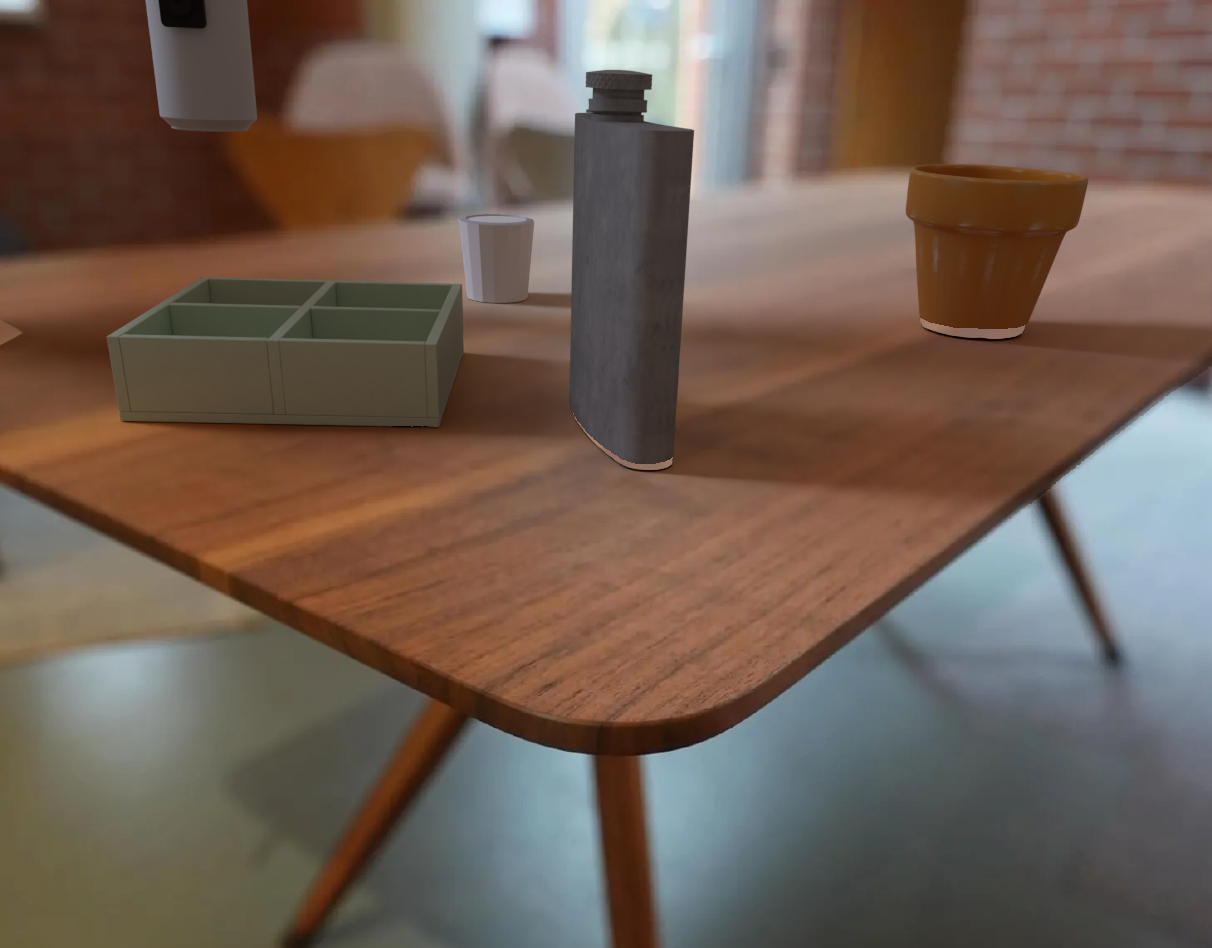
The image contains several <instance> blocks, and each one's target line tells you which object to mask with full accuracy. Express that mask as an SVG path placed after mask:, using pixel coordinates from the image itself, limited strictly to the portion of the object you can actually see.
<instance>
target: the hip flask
mask: <svg viewBox="0 0 1212 948" xmlns="http://www.w3.org/2000/svg"><path fill="white" fill-rule="evenodd" d="M652 87H653V74H652V73H646V72H641V71H636V70H627V69H600V70H591V71H586V72H585V88H589V89H590V88H591V89H592V98H588V99H587V101H588V109H585V112H576V113H574V141H573V142H574V143H573V144H574V146H573V147H574V148H573V192H572V193H573V194H572V195H573V196H572V240H571V241H572V242H571V243H572V244H571V245H572V246H571V251H572V252H571V293H570V294H571V295H570V296H571V297H570V298H571V299H570V343H569V345H570V346H569V347H570V348H569V349H570V350H569V393H568V394H569V395H568V397H569V398H568V399H569V400H570V402H569V407H570V406H571V408H570V410H571V409H572V411H573V413H574V416H575V417H576V419H577V421H578V422H579V423H580V424H581V426H582V427H583V428H584V429H585V431H586V432H587V433H588V434H589V435H590V436H591V437H593V439H594V440H596V441H597V442H598V443H599V444H600V445H602V446H603V447H604V448H605V449H607V450H609V451H611V453H613V454H614V455H617V456H618V457H619V458H620V459H622V460H626V461H628V462H631V463H635V464H656V463H660V462H665V461H667V460H670V459H671V458H672V457H673V458H674V454H675V453H674V452H675V438H676V437H675V436H676V424H677V423H676V421H677V406H678V391H679V375H680V362H681V361H680V360H681V347H682V346H681V343H682V329H683V314H684V298H685V297H684V296H685V281H686V265H687V252H688V251H687V249H688V234H689V218H690V203H691V202H690V201H691V188H692V172H693V157H694V156H693V155H694V141H695V130H694V129H692V128H685V127H678V126H673V125H668V124H667V125H666V124H660V123H655V122H651V121H645V115H644V114H645V113H648V101H649V100H648V99H645V91H650V90H652V89H653V88H652ZM572 411H571V412H572ZM574 416H573V417H574Z"/></svg>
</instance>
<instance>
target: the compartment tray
mask: <svg viewBox="0 0 1212 948" xmlns="http://www.w3.org/2000/svg"><path fill="white" fill-rule="evenodd" d="M463 301H464V300H463V283H449V282H448V283H444V282H412V281H411V282H410V281H409V282H407V281H404V282H403V281H370V280H369V281H367V280H335V279H334V280H333V279H331V280H329V279H328V280H326V279H297V278H296V279H295V278H293V279H292V278H259V277H258V278H257V277H253V278H252V277H220V276H219V277H217V276H211V277H210V276H200V277H199V278H198V279H196V280H195V281H193V282H191V283H190V284H188V285H187V286H185V287H184V288H181V289H180V290H179V291H177V292H175V293H174V294H172V295H171V296H169V297H167V298H166V299H164V300H162V301H161V302H159V303H157V304H156V305H154V307H153V306H152V307H151V308H150V309H148V310H147V311H145V312H143V313H142V314H140V315H139V316H137V317H135V318H134V319H132V320H131V321H129V322H127V323H126V324H125V325H123V326H121V327H120V328H118V329H116V330H114V331H113V332H112V333H110V334H109V335H107V336H106V341H107V348H108V352H109V360H110V366H111V370H112V377H113V383H114V389H115V395H116V402H117V407H118V408H117V409H118V411H119V413H118V414H119V419H120V421H121V422H146V423H147V422H151V423H155V422H157V423H195V424H196V423H201V424H204V423H205V424H248V425H249V424H251V425H252V424H254V425H293V426H295V425H297V426H300V425H301V426H343V427H344V426H346V427H347V426H348V427H349V426H350V427H392V426H411V427H410V428H414V427H413V426H422V427H421V428H424V427H423V426H428V427H427V428H430V427H429V426H436V427H435V428H440V426H441V423H442V420H443V416H444V413H445V411H446V407H447V404H448V401H449V398H450V395H451V392H452V389H453V386H454V383H455V380H456V376H457V373H458V371H459V367H460V364H461V361H462V358H463V355H464V352H465V347H464V346H465V345H464V344H465V342H464V341H465V340H464V307H463V305H464V303H463Z"/></svg>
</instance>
